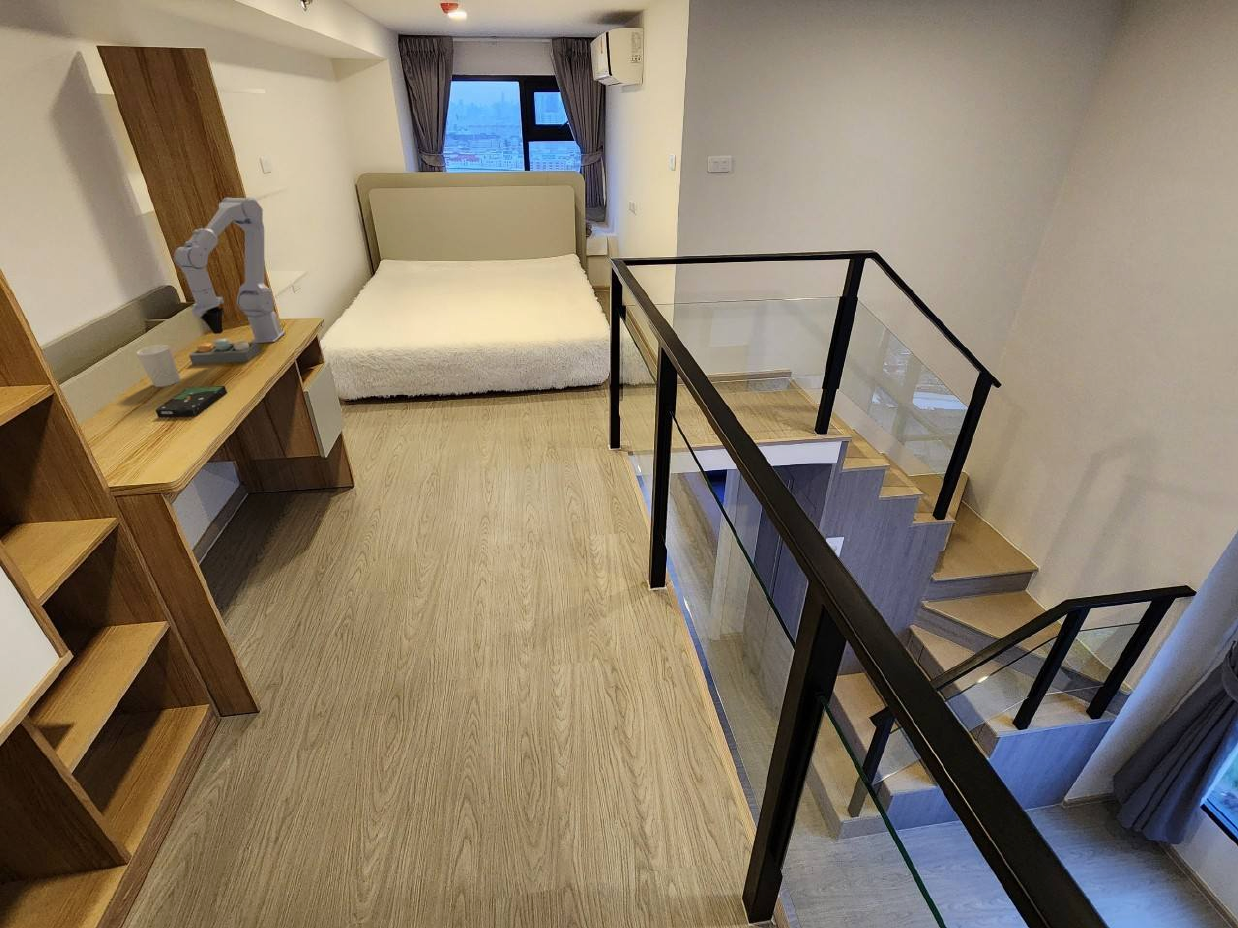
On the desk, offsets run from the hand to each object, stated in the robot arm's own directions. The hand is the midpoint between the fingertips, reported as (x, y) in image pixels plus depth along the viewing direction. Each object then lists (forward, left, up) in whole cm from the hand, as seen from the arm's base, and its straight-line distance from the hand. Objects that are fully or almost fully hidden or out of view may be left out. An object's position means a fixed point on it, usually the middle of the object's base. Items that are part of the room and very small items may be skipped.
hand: (218, 333), depth 194 cm
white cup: (+18, -9, -8) cm, 22 cm away
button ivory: (0, +6, -6) cm, 8 cm away
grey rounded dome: (0, 0, -5) cm, 5 cm away
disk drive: (+35, +7, -9) cm, 37 cm away
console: (0, 0, -8) cm, 8 cm away
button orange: (0, -5, -6) cm, 8 cm away
